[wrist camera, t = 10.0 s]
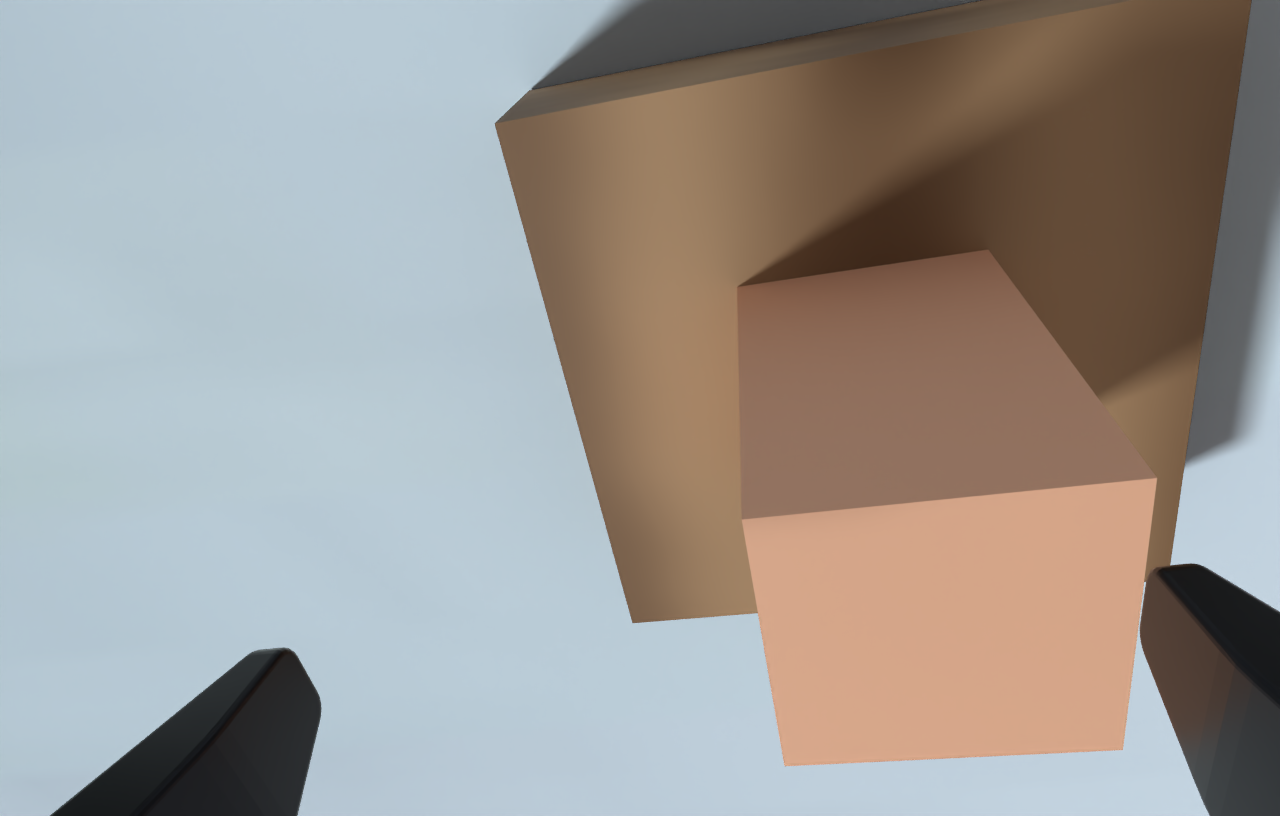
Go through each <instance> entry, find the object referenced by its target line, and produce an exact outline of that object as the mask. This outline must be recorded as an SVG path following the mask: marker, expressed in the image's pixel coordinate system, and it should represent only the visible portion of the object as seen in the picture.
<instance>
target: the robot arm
mask: <svg viewBox="0 0 1280 816" xmlns="http://www.w3.org/2000/svg"><path fill="white" fill-rule="evenodd" d="M1140 638H1141V644H1142V648H1143V651H1144V654H1145V657H1146V659H1147V662H1148V665H1149V667H1150V670H1151V672H1152V675H1153V677H1154V680H1155V682H1156V685H1157V687H1158V690H1159V693H1160V695H1161V698H1162V700H1163V703H1164V705H1165V708H1166V710H1167V713H1168V715H1169V718H1170V721H1171V723H1172V726H1173V728H1174V731H1175V733H1176V736H1177V738H1178V741H1179V743H1180V746H1181V748H1182V751H1183V754H1184V756H1185V759H1186V761H1187V764H1188V766H1189V769H1190V771H1191V774H1192V776H1193V779H1194V781H1195V784H1196V786H1197V788H1198V791H1199V793H1200V796H1201V798H1202V800H1203V803H1204V805H1205V807H1206V809H1207V811H1208V813H1209V815H1210V816H1280V612H1279V611H1278V610H1276V609H1274V608H1273V607H1271V606H1269V605H1268V604H1266V603H1264V602H1263V601H1261V600H1259V599H1258V598H1256V597H1254V596H1253V595H1251V594H1249V593H1248V592H1246V591H1244V590H1243V589H1241V588H1239V587H1238V586H1236V585H1234V584H1233V583H1231V582H1229V581H1228V580H1226V579H1224V578H1223V577H1221V576H1219V575H1218V574H1216V573H1214V572H1213V571H1211V570H1209V569H1208V568H1206V567H1204V566H1201V565H1198V564H1181V565H1170V566H1159V567H1156V568H1153V569H1152V570H1151V571H1150V572H1149V574H1148V577H1147V580H1146V587H1145V594H1144V601H1143V608H1142V616H1141V623H1140ZM320 717H321V701H320V697H319V694H318V692H317V690H316V688H315V687H314V685H313V683H312V681H311V680H310V678H309V676H308V674H307V672H306V671H305V669H304V667H303V665H302V664H301V662H300V660H299V658H298V656H297V655H296V654H295V652H293V651H292V650H290V649H289V648H273V649H263V650H257V651H254V652H252V653H250V654H248V655H247V656H246V657H245V658H243V659H242V660H241V661H240V662H238V663H237V664H236V665H235V666H234V667H232V668H231V669H230V670H229V671H227V672H226V673H225V674H224V675H222V676H221V677H220V678H219V679H218V680H216V681H215V682H214V683H213V684H211V685H210V686H209V687H208V688H206V689H205V690H204V691H203V692H202V693H200V694H199V695H198V696H197V697H195V698H194V699H193V700H192V701H190V702H189V703H188V704H187V705H186V706H184V707H183V708H182V709H181V710H179V711H178V712H177V713H176V714H174V715H173V716H172V717H171V718H170V719H168V720H167V721H166V722H165V723H163V724H162V725H161V726H160V727H158V728H157V729H156V730H155V731H154V732H152V733H151V734H150V735H149V736H147V737H146V738H145V739H144V740H142V741H141V742H140V743H139V744H138V745H136V746H135V747H134V748H133V749H131V750H130V751H129V752H128V753H126V754H125V755H124V756H123V757H122V758H120V759H119V760H118V761H117V762H115V763H114V764H113V765H112V766H110V767H109V768H108V769H107V770H106V771H104V772H103V773H102V774H101V775H99V776H98V777H97V778H96V779H94V780H93V781H92V782H91V783H90V784H88V785H87V786H86V787H85V788H83V789H82V790H81V791H80V792H78V793H77V794H76V795H75V796H74V797H72V798H71V799H70V800H69V801H67V802H66V803H65V804H64V805H62V806H61V807H60V808H59V809H58V810H56V811H55V812H54V813H53V814H51V815H50V816H297V815H298V811H299V807H300V802H301V798H302V794H303V790H304V785H305V781H306V777H307V773H308V769H309V764H310V760H311V756H312V752H313V748H314V743H315V739H316V735H317V731H318V727H319V722H320Z"/></svg>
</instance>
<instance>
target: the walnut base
mask: <svg viewBox="0 0 1280 816" xmlns="http://www.w3.org/2000/svg"><path fill="white" fill-rule="evenodd" d="M1251 1H1252V0H981V1H976V2H971V3H966V4H961V5H956V6H951V7H946V8H941V9H936V10H931V11H926V12H921V13H916V14H911V15H906V16H901V17H896V18H891V19H886V20H881V21H876V22H871V23H866V24H861V25H856V26H851V27H846V28H841V29H836V30H831V31H826V32H821V33H816V34H811V35H805V36H800V37H795V38H790V39H785V40H780V41H775V42H770V43H765V44H760V45H755V46H750V47H745V48H740V49H735V50H730V51H725V52H720V53H715V54H710V55H705V56H700V57H695V58H690V59H685V60H680V61H675V62H670V63H665V64H660V65H655V66H650V67H645V68H640V69H635V70H630V71H625V72H620V73H615V74H610V75H605V76H600V77H595V78H590V79H584V80H579V81H574V82H569V83H564V84H559V85H554V86H549V87H544V88H539V89H534V90H529V91H528V92H527V93H526V94H525V95H524V96H523V97H522V98H521V99H520V100H519V101H518V102H517V103H516V104H515V105H514V106H513V107H512V108H510V109H509V110H508V111H507V112H506V113H505V114H504V115H503V116H502V117H501V118H500V119H499V120H498V121H497V122H496V123H495V127H496V130H497V134H498V138H499V141H500V145H501V148H502V152H503V156H504V159H505V163H506V167H507V170H508V174H509V177H510V181H511V185H512V188H513V192H514V196H515V199H516V203H517V206H518V210H519V214H520V217H521V221H522V224H523V228H524V232H525V235H526V239H527V243H528V246H529V250H530V253H531V257H532V261H533V264H534V268H535V272H536V275H537V279H538V282H539V286H540V290H541V293H542V297H543V301H544V304H545V308H546V311H547V315H548V319H549V322H550V326H551V329H552V333H553V337H554V340H555V344H556V348H557V351H558V355H559V358H560V362H561V366H562V369H563V373H564V377H565V380H566V384H567V387H568V391H569V395H570V398H571V402H572V406H573V409H574V413H575V416H576V420H577V424H578V427H579V431H580V434H581V438H582V442H583V445H584V449H585V453H586V456H587V460H588V463H589V467H590V471H591V474H592V478H593V482H594V485H595V489H596V492H597V496H598V500H599V503H600V507H601V511H602V514H603V518H604V521H605V525H606V529H607V532H608V536H609V539H610V543H611V547H612V550H613V554H614V558H615V561H616V565H617V568H618V572H619V576H620V579H621V583H622V587H623V590H624V594H625V597H626V601H627V605H628V608H629V612H630V616H631V619H632V623H640V622H653V621H665V620H677V619H690V618H702V617H715V616H727V615H739V614H752V613H758V611H757V605H756V599H755V593H754V588H753V582H752V576H751V570H750V565H749V559H748V553H747V548H746V542H745V536H744V530H743V525H742V513H741V463H740V412H739V361H738V311H737V287H740V286H747V285H753V284H760V283H767V282H773V281H780V280H787V279H794V278H800V277H807V276H814V275H820V274H827V273H834V272H841V271H847V270H854V269H861V268H868V267H874V266H881V265H888V264H894V263H901V262H908V261H915V260H921V259H928V258H935V257H941V256H948V255H955V254H962V253H968V252H975V251H982V250H989V251H990V253H991V254H992V255H993V257H994V258H995V259H996V261H997V262H998V263H999V265H1000V266H1001V267H1002V269H1003V270H1004V272H1005V273H1006V274H1007V276H1008V277H1009V278H1010V280H1011V281H1012V282H1013V284H1014V285H1015V286H1016V288H1017V289H1018V290H1019V292H1020V293H1021V294H1022V296H1023V297H1024V299H1025V300H1026V301H1027V303H1028V304H1029V305H1030V307H1031V308H1032V309H1033V311H1034V312H1035V313H1036V315H1037V316H1038V317H1039V319H1040V320H1041V322H1042V323H1043V324H1044V326H1045V327H1046V328H1047V330H1048V331H1049V332H1050V334H1051V335H1052V336H1053V338H1054V339H1055V340H1056V342H1057V343H1058V345H1059V346H1060V347H1061V349H1062V350H1063V351H1064V353H1065V354H1066V355H1067V357H1068V358H1069V359H1070V361H1071V362H1072V363H1073V365H1074V366H1075V368H1076V369H1077V370H1078V372H1079V373H1080V374H1081V376H1082V377H1083V378H1084V380H1085V381H1086V382H1087V384H1088V385H1089V386H1090V388H1091V389H1092V391H1093V392H1094V393H1095V395H1096V396H1097V397H1098V399H1099V400H1100V401H1101V403H1102V404H1103V405H1104V407H1105V408H1106V409H1107V411H1108V412H1109V414H1110V415H1111V416H1112V418H1113V419H1114V420H1115V422H1116V423H1117V424H1118V426H1119V427H1120V428H1121V430H1122V431H1123V432H1124V434H1125V435H1126V437H1127V438H1128V439H1129V441H1130V442H1131V443H1132V445H1133V446H1134V447H1135V449H1136V450H1137V451H1138V453H1139V454H1140V455H1141V457H1142V458H1143V460H1144V461H1145V462H1146V464H1147V465H1148V466H1149V468H1150V469H1151V470H1152V472H1153V473H1154V474H1155V476H1156V477H1157V484H1156V491H1155V499H1154V507H1153V515H1152V523H1151V531H1150V539H1149V547H1148V554H1147V562H1146V570H1145V578H1144V582H1146V580H1147V577H1148V574H1149V572H1150V571H1151V570H1152V569H1153V568H1156V567H1159V566H1170V562H1171V555H1172V548H1173V541H1174V534H1175V528H1176V521H1177V514H1178V507H1179V500H1180V493H1181V486H1182V479H1183V472H1184V465H1185V458H1186V451H1187V444H1188V437H1189V431H1190V424H1191V417H1192V410H1193V403H1194V396H1195V389H1196V382H1197V375H1198V368H1199V361H1200V354H1201V347H1202V340H1203V334H1204V327H1205V320H1206V313H1207V306H1208V299H1209V292H1210V285H1211V278H1212V271H1213V264H1214V257H1215V250H1216V243H1217V237H1218V230H1219V223H1220V216H1221V209H1222V202H1223V195H1224V188H1225V181H1226V174H1227V167H1228V160H1229V153H1230V146H1231V140H1232V133H1233V126H1234V119H1235V112H1236V105H1237V98H1238V91H1239V84H1240V77H1241V70H1242V63H1243V56H1244V49H1245V43H1246V36H1247V29H1248V22H1249V15H1250V8H1251Z"/></svg>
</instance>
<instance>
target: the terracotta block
mask: <svg viewBox="0 0 1280 816" xmlns="http://www.w3.org/2000/svg"><path fill="white" fill-rule="evenodd" d="M737 311H738V361H739V412H740V463H741V513H742V525H743V530H744V536H745V542H746V548H747V553H748V559H749V565H750V570H751V576H752V582H753V588H754V593H755V599H756V605H757V611H758V616H759V622H760V628H761V633H762V639H763V645H764V651H765V656H766V662H767V668H768V674H769V679H770V685H771V691H772V697H773V702H774V708H775V714H776V719H777V725H778V731H779V737H780V742H781V748H782V754H783V760H784V765H785V766H798V765H819V764H840V763H861V762H882V761H902V760H923V759H944V758H965V757H985V756H1006V755H1027V754H1048V753H1069V752H1089V751H1110V750H1123V744H1124V736H1125V728H1126V720H1127V712H1128V704H1129V696H1130V689H1131V681H1132V673H1133V665H1134V657H1135V649H1136V641H1137V633H1138V625H1139V618H1140V610H1141V602H1142V594H1143V586H1144V578H1145V570H1146V562H1147V554H1148V547H1149V539H1150V531H1151V523H1152V515H1153V507H1154V499H1155V491H1156V484H1157V477H1156V476H1155V474H1154V473H1153V472H1152V470H1151V469H1150V468H1149V466H1148V465H1147V464H1146V462H1145V461H1144V460H1143V458H1142V457H1141V455H1140V454H1139V453H1138V451H1137V450H1136V449H1135V447H1134V446H1133V445H1132V443H1131V442H1130V441H1129V439H1128V438H1127V437H1126V435H1125V434H1124V432H1123V431H1122V430H1121V428H1120V427H1119V426H1118V424H1117V423H1116V422H1115V420H1114V419H1113V418H1112V416H1111V415H1110V414H1109V412H1108V411H1107V409H1106V408H1105V407H1104V405H1103V404H1102V403H1101V401H1100V400H1099V399H1098V397H1097V396H1096V395H1095V393H1094V392H1093V391H1092V389H1091V388H1090V386H1089V385H1088V384H1087V382H1086V381H1085V380H1084V378H1083V377H1082V376H1081V374H1080V373H1079V372H1078V370H1077V369H1076V368H1075V366H1074V365H1073V363H1072V362H1071V361H1070V359H1069V358H1068V357H1067V355H1066V354H1065V353H1064V351H1063V350H1062V349H1061V347H1060V346H1059V345H1058V343H1057V342H1056V340H1055V339H1054V338H1053V336H1052V335H1051V334H1050V332H1049V331H1048V330H1047V328H1046V327H1045V326H1044V324H1043V323H1042V322H1041V320H1040V319H1039V317H1038V316H1037V315H1036V313H1035V312H1034V311H1033V309H1032V308H1031V307H1030V305H1029V304H1028V303H1027V301H1026V300H1025V299H1024V297H1023V296H1022V294H1021V293H1020V292H1019V290H1018V289H1017V288H1016V286H1015V285H1014V284H1013V282H1012V281H1011V280H1010V278H1009V277H1008V276H1007V274H1006V273H1005V272H1004V270H1003V269H1002V267H1001V266H1000V265H999V263H998V262H997V261H996V259H995V258H994V257H993V255H992V254H991V253H990V251H989V250H982V251H975V252H968V253H962V254H955V255H948V256H941V257H935V258H928V259H921V260H915V261H908V262H901V263H894V264H888V265H881V266H874V267H868V268H861V269H854V270H847V271H841V272H834V273H827V274H820V275H814V276H807V277H800V278H794V279H787V280H780V281H773V282H767V283H760V284H753V285H747V286H740V287H737Z"/></svg>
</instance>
